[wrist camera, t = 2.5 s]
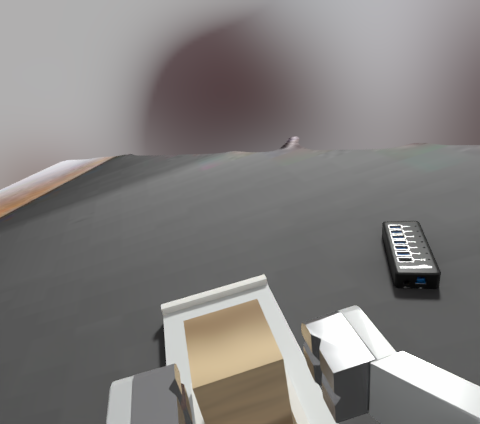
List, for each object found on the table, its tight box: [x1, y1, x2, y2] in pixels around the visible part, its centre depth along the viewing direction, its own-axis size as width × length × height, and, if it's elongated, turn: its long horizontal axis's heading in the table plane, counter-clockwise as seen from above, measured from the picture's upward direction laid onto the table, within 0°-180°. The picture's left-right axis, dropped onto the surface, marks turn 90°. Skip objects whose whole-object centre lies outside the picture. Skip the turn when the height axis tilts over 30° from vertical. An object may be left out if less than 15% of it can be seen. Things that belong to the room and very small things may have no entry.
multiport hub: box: [382, 221, 441, 289], centre depth 41 cm, size 4×11×2 cm, turn 167°
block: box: [184, 299, 293, 424], centre depth 23 cm, size 5×5×10 cm
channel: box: [161, 275, 338, 424], centre depth 27 cm, size 28×12×2 cm, turn 14°
